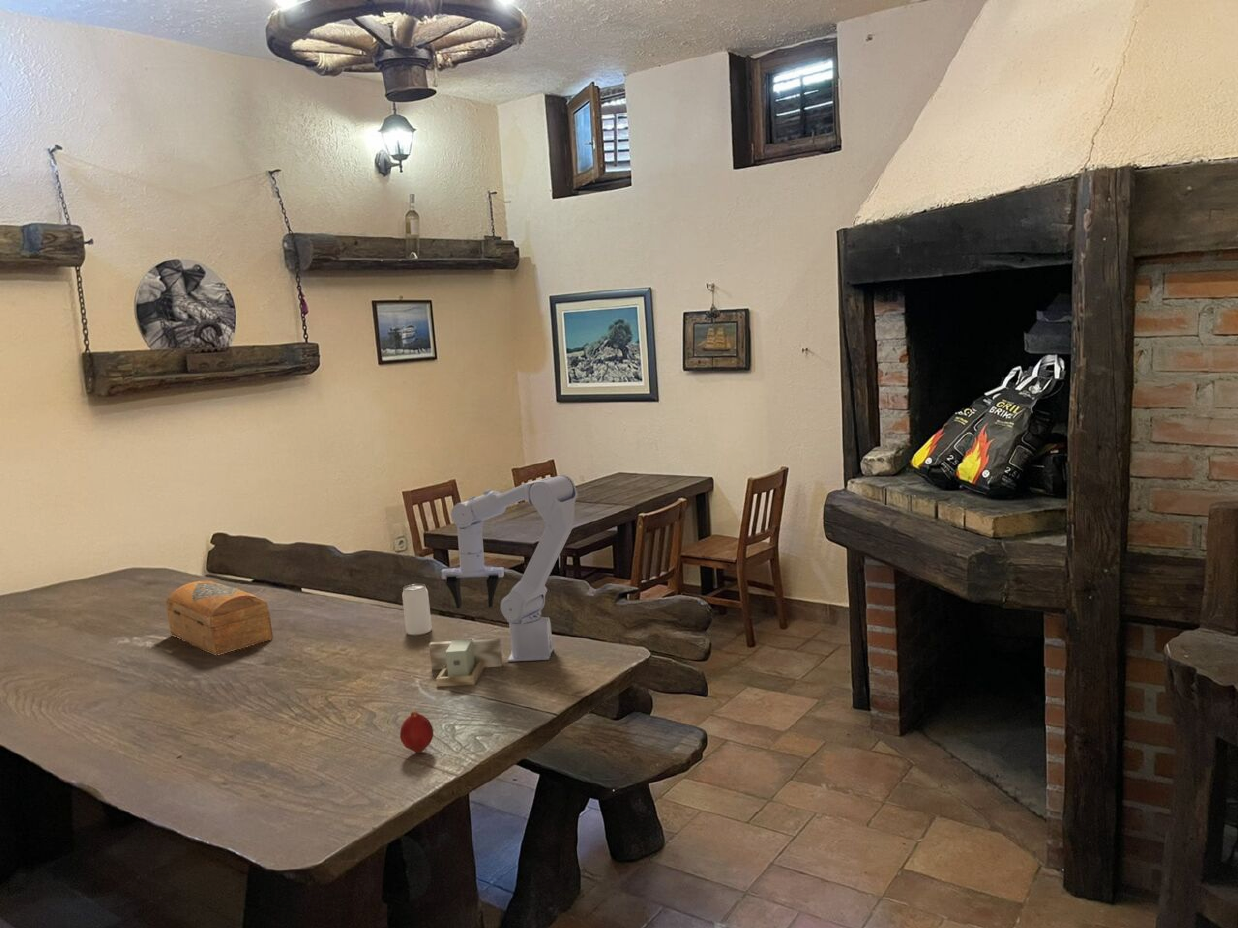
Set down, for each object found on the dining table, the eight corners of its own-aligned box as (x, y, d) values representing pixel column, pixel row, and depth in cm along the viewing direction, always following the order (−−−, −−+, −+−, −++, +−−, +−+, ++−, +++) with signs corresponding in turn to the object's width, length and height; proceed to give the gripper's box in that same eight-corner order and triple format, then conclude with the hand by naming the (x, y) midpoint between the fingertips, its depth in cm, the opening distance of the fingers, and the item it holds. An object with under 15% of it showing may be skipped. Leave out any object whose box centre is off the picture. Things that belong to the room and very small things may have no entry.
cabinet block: (475, 668, 203) (472, 638, 202) (468, 682, 195) (465, 651, 194) (455, 669, 204) (452, 639, 203) (448, 683, 195) (445, 652, 194)
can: (425, 635, 229) (420, 590, 227) (402, 635, 230) (397, 590, 229) (435, 627, 235) (431, 583, 234) (412, 627, 237) (408, 583, 235)
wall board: (502, 663, 204) (500, 638, 204) (492, 683, 193) (489, 657, 192) (433, 667, 206) (430, 642, 205) (419, 687, 194) (416, 660, 193)
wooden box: (277, 639, 236) (271, 588, 234) (213, 658, 224) (206, 604, 222) (230, 620, 257) (224, 573, 255) (170, 636, 245) (163, 587, 244)
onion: (405, 747, 165) (400, 705, 164) (436, 743, 165) (432, 702, 164) (400, 761, 159) (395, 718, 158) (433, 758, 160) (428, 715, 159)
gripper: (504, 545, 216) (508, 600, 218) (444, 547, 217) (448, 602, 219) (499, 553, 209) (503, 609, 211) (437, 555, 210) (442, 611, 212)
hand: (475, 606), depth 215 cm, fingers open, 7 cm apart
